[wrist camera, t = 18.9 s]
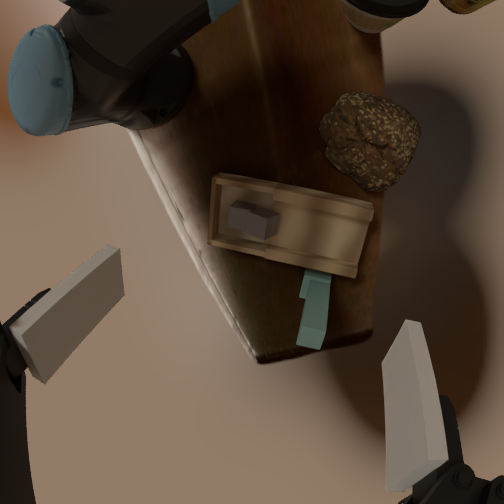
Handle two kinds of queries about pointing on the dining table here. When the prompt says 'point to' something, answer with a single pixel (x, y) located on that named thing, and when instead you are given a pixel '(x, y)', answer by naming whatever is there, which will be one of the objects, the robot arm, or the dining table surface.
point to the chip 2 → (262, 223)
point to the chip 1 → (239, 214)
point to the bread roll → (370, 139)
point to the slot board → (293, 224)
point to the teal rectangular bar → (314, 308)
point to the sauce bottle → (464, 5)
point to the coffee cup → (379, 12)
